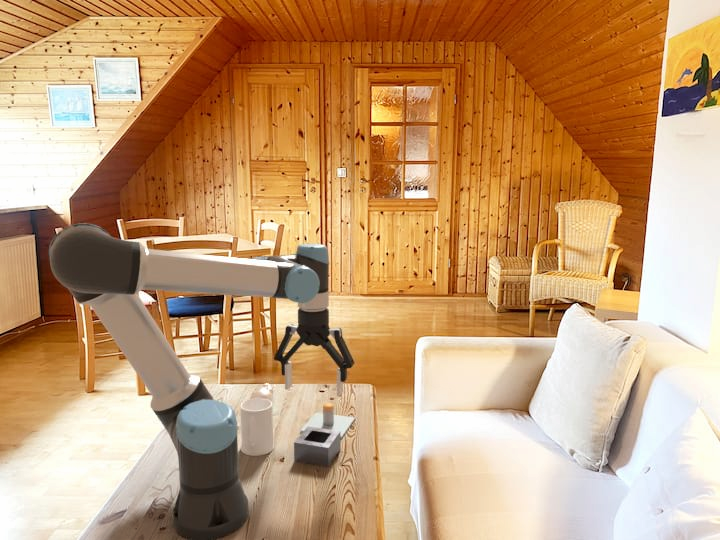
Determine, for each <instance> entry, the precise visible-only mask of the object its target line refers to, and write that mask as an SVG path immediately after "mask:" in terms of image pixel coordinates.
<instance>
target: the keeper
mask: <svg viewBox="0 0 720 540" xmlns="http://www.w3.org/2000/svg"><path fill="white" fill-rule="evenodd" d="M334 405H335V404H333V403H330V402H328V403H327V402H326V403H324V404H323V405H322V412H315V414H313V416H312V417H311V418H310V419H308V421H307V422H306V423H305V424H304V426H303V427H301V429H300V433H301V434H302V433H303V432H304V430H305V429H306V428H307V427H315V428H322V429H328V430H335V431H340V440H341V439H343V438H344V436H345V435H346V433H347V432H348V430H349V429H350V427H351V426H352V425H353V423H354V422H355V420H356V417H354V416H353V417H352V416H346V415H340V414H339V415H337V414H335V413H334V412H335V410H334V409H335V407H334Z"/></svg>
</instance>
